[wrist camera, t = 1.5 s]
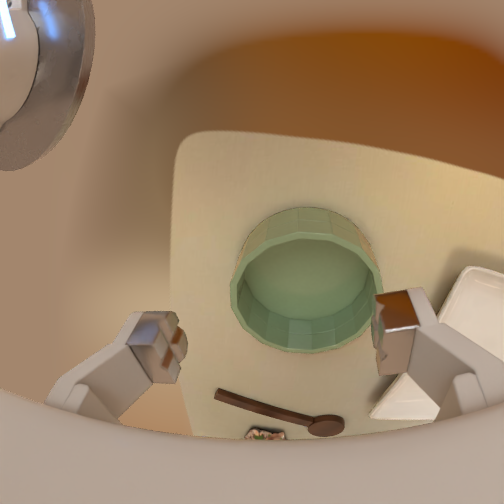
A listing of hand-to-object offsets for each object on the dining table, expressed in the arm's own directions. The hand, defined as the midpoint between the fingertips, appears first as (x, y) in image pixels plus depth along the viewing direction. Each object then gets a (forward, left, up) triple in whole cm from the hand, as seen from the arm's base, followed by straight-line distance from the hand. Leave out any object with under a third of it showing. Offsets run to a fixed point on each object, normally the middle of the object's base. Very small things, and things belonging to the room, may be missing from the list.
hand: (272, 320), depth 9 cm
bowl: (+6, -9, -19) cm, 22 cm away
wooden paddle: (+16, -34, -19) cm, 42 cm away
